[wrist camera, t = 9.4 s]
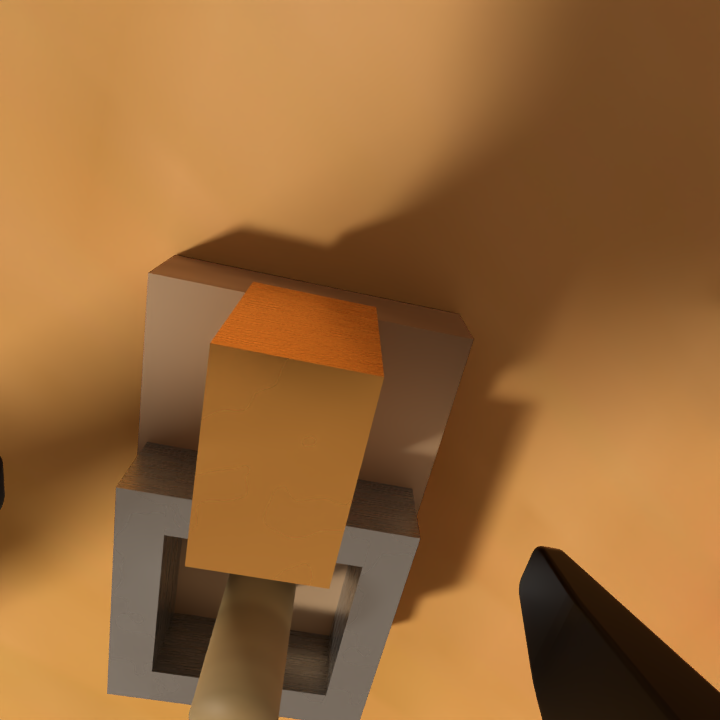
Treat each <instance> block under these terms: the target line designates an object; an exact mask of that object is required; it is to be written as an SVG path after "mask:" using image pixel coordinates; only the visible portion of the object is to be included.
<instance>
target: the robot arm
mask: <svg viewBox="0 0 720 720" xmlns="http://www.w3.org/2000/svg"><path fill="white" fill-rule="evenodd" d="M4 497H5V490H4V473H3V461H2V458H1V456H0V509H1V507H2V505H3V502H4ZM519 596H520V603H521V609H522V616H523V622H524V629H525V635H526V642H527V648H528V655H529V661H530V668H531V673H532V679H533V684H534V688H535V692H536V697H537V701H538V705H539V709H540V712H541V716H542V720H720V692H719V691H718V690H717V689H715V688H714V687H713V686H712V685H711V684H710V683H709V682H708V681H707V680H705V679H704V678H703V677H702V676H701V675H700V674H699V673H698V672H697V671H695V670H694V669H693V668H692V667H691V666H690V665H689V664H688V663H687V662H685V661H684V660H683V659H682V658H681V657H680V656H679V655H678V654H677V653H675V652H674V651H673V650H672V649H671V648H670V647H669V646H668V645H667V644H665V643H664V642H663V641H662V640H661V639H660V638H659V637H658V636H657V635H655V634H654V633H653V632H652V631H651V630H650V629H649V628H648V627H647V626H645V625H644V624H643V623H642V622H641V621H640V620H639V619H638V618H637V617H635V616H634V615H633V614H632V613H631V612H630V611H629V610H628V609H627V608H625V607H624V606H623V605H622V604H621V603H620V602H619V601H618V600H617V599H615V598H614V597H613V596H612V595H611V594H610V593H609V592H608V591H607V590H605V589H604V588H603V587H602V586H601V585H600V584H599V583H598V582H597V581H595V580H594V579H593V578H592V577H591V576H590V575H589V574H588V573H587V572H585V571H584V570H583V569H582V568H581V567H580V566H579V565H578V564H577V563H575V562H574V561H573V560H572V559H571V558H570V557H569V556H568V555H567V554H565V553H564V552H563V551H562V550H560V549H556V548H550V547H544V546H539V547H537V548H535V549H534V551H533V553H532V555H531V557H530V560H529V562H528V564H527V566H526V569H525V571H524V573H523V575H522V578H521V580H520V584H519Z"/></svg>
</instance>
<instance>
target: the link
mask: <svg viewBox="0 0 720 720" xmlns="http://www.w3.org/2000/svg"><path fill="white" fill-rule="evenodd" d="M383 380H384V371H383V362H382V354H381V345H380V336H379V327H378V318H377V310H376V307H373V306H368V305H363V304H359V303H354V302H349V301H344V300H339V299H334V298H330V297H325V296H320V295H315V294H310V293H305V292H301V291H296V290H291V289H286V288H281V287H276V286H272V285H267V284H262V283H257V282H253V283H252V284H251V285H250V287H249V288H248V290H247V291H246V293H245V294H244V295H243V297H242V298H241V300H240V301H239V302H238V304H237V305H236V307H235V308H234V310H233V311H232V312H231V314H230V315H229V317H228V318H227V320H226V321H225V322H224V324H223V325H222V327H221V328H220V330H219V331H218V332H217V334H216V335H215V337H214V338H213V340H212V341H211V342H210V348H209V357H208V365H207V374H206V383H205V392H204V401H203V410H202V418H201V427H200V436H199V445H198V451H196V450H191V449H185V448H180V447H174V446H168V445H163V444H157V443H151V442H147V443H146V444H145V446H144V447H143V449H142V450H141V452H140V453H139V455H138V456H137V458H136V459H135V460H134V462H133V463H132V465H131V466H130V468H129V469H128V471H127V472H126V474H125V475H124V477H123V478H122V480H121V481H120V482H119V484H118V485H117V487H116V502H115V526H114V549H113V572H112V596H111V619H110V643H109V666H108V689H107V694H114V695H121V696H129V697H136V698H144V699H151V700H159V701H166V702H174V703H181V704H189V705H192V701H193V698H194V694H195V691H196V688H197V684H198V681H199V677H200V674H201V670H202V667H203V663H204V660H205V656H206V653H207V650H208V646H209V643H210V639H211V636H212V632H213V629H214V625H215V622H216V619H215V618H208V617H201V616H195V615H188V614H181V613H175V612H174V611H175V602H176V593H177V583H178V574H179V565H180V555H181V546H182V538H185V539H188V542H187V551H186V560H185V566H186V567H193V568H199V569H205V570H212V571H218V572H224V573H231V574H237V575H244V576H250V577H256V578H263V579H269V580H276V581H282V582H288V583H295V584H301V585H307V586H314V587H320V588H327V589H329V588H330V584H331V580H332V576H333V572H334V569H335V565H336V563H340V564H346V565H348V568H347V572H346V575H345V579H344V583H343V586H342V590H341V594H340V597H339V601H338V605H337V608H336V612H335V616H334V619H333V623H332V627H331V630H330V634H329V635H322V634H316V633H309V632H302V631H296V630H290V636H289V643H288V651H287V658H286V666H285V673H284V681H283V688H282V696H281V703H280V711H279V717H286V718H294V719H301V720H360V718H361V715H362V712H363V709H364V706H365V703H366V700H367V697H368V694H369V691H370V688H371V685H372V682H373V679H374V676H375V673H376V670H377V667H378V664H379V661H380V658H381V655H382V652H383V649H384V646H385V643H386V640H387V637H388V634H389V631H390V628H391V625H392V622H393V619H394V616H395V613H396V610H397V607H398V604H399V601H400V598H401V595H402V592H403V589H404V586H405V583H406V580H407V577H408V574H409V571H410V568H411V565H412V562H413V559H414V556H415V553H416V550H417V547H418V544H419V541H420V533H419V527H418V521H417V514H416V508H415V502H414V495H413V489H412V488H406V487H400V486H395V485H389V484H383V483H378V482H372V481H366V480H361V479H358V476H359V472H360V468H361V464H362V461H363V457H364V453H365V449H366V445H367V441H368V437H369V434H370V430H371V426H372V422H373V418H374V414H375V410H376V407H377V403H378V399H379V395H380V391H381V387H382V384H383Z"/></svg>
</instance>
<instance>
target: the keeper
mask: <svg viewBox="0 0 720 720" xmlns="http://www.w3.org/2000/svg"><path fill="white" fill-rule="evenodd" d="M253 282H257V283H262V284H267V285H272V286H276V287H281V288H286V289H291V290H296V291H301V292H305V293H310V294H315V295H320V296H325V297H330V298H334V299H339V300H344V301H349V302H354V303H359V304H363V305H368V306H373V307H376V310H377V318H378V327H379V336H380V345H381V354H382V362H383V371H384V380H383V384H382V387H381V391H380V395H379V399H378V403H377V407H376V410H375V414H374V418H373V422H372V426H371V430H370V434H369V437H368V441H367V445H366V449H365V453H364V457H363V461H362V464H361V468H360V472H359V476H358V479H361V480H366V481H372V482H378V483H383V484H389V485H395V486H400V487H406V488H412V489H413V495H414V502H415V508H416V514H417V513H418V510H419V507H420V504H421V501H422V498H423V495H424V492H425V489H426V485H427V482H428V479H429V476H430V473H431V470H432V467H433V464H434V461H435V458H436V454H437V451H438V448H439V445H440V442H441V439H442V436H443V433H444V430H445V427H446V423H447V420H448V417H449V414H450V411H451V408H452V405H453V402H454V399H455V396H456V393H457V389H458V386H459V383H460V380H461V377H462V374H463V371H464V368H465V365H466V362H467V358H468V355H469V352H470V349H471V346H472V343H473V340H474V339H473V337H472V336H471V334H470V332H469V330H468V329H467V327H466V325H465V323H464V322H463V320H462V318H461V316H460V315H459V314H456V313H451V312H446V311H441V310H437V309H432V308H427V307H422V306H417V305H413V304H408V303H403V302H398V301H394V300H389V299H384V298H379V297H374V296H370V295H365V294H360V293H355V292H350V291H346V290H341V289H336V288H331V287H326V286H322V285H317V284H312V283H307V282H303V281H298V280H293V279H288V278H283V277H279V276H274V275H269V274H264V273H259V272H255V271H250V270H245V269H240V268H235V267H231V266H226V265H221V264H216V263H212V262H207V261H202V260H197V259H192V258H188V257H183V256H178V255H174V256H173V257H171V258H170V259H168V260H167V261H165V262H164V263H162V264H161V265H159V266H158V267H156V268H155V269H153V270H152V271H150V272H149V273H148V286H147V303H146V319H145V336H144V353H143V369H142V386H141V403H140V419H139V436H138V452H137V456H138V455H139V453H140V452H141V450H142V449H143V447H144V446H145V444H146V443H147V442H151V443H157V444H163V445H168V446H174V447H180V448H185V449H191V450H196V451H198V445H199V436H200V427H201V418H202V410H203V401H204V392H205V383H206V374H207V365H208V357H209V348H210V342H211V341H212V340H213V338H214V337H215V335H216V334H217V332H218V331H219V330H220V328H221V327H222V325H223V324H224V322H225V321H226V320H227V318H228V317H229V315H230V314H231V312H232V311H233V310H234V308H235V307H236V305H237V304H238V302H239V301H240V300H241V298H242V297H243V295H244V294H245V293H246V291H247V290H248V288H249V287H250V285H251V284H252V283H253ZM187 542H188V539H185V538H182V546H181V555H180V565H179V574H178V583H177V593H176V602H175V611H174V612H175V613H181V614H188V615H195V616H201V617H208V618H215V619H216V622H215V625H214V629H213V632H212V636H211V639H210V643H209V646H208V650H207V653H206V656H205V660H204V663H203V667H202V670H201V674H200V677H199V681H198V684H197V688H196V691H195V694H194V698H193V701H192V705H191V708H190V712H189V720H278V718H279V711H280V703H281V696H282V688H283V681H284V673H285V666H286V658H287V651H288V643H289V636H290V630H296V631H302V632H309V633H316V634H322V635H329V634H330V630H331V627H332V623H333V619H334V616H335V612H336V608H337V605H338V601H339V597H340V594H341V590H342V586H343V583H344V579H345V575H346V572H347V568H348V565H346V564H340V563H336V565H335V569H334V572H333V576H332V580H331V584H330V588H329V589H327V588H320V587H314V586H307V585H301V584H295V583H288V582H282V581H276V580H269V579H263V578H256V577H250V576H244V575H237V574H231V573H224V572H218V571H212V570H205V569H199V568H193V567H186V566H185V560H186V551H187Z"/></svg>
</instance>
